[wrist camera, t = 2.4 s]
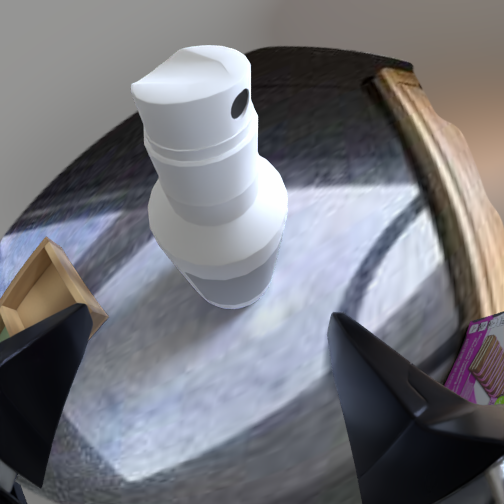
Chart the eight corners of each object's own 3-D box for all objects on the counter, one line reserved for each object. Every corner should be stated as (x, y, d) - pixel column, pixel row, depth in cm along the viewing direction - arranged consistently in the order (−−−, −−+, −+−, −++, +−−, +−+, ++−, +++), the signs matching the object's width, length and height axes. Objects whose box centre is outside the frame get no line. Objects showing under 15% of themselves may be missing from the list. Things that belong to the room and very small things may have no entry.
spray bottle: (247, 325, 21) (224, 208, 4) (177, 283, 22) (41, 126, 6) (287, 254, 23) (343, 54, 7) (219, 220, 25) (177, 22, 8)
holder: (109, 316, 21) (92, 311, 19) (20, 427, 16) (4, 429, 13) (61, 247, 24) (46, 236, 21) (-15, 357, 19) (-31, 354, 16)
